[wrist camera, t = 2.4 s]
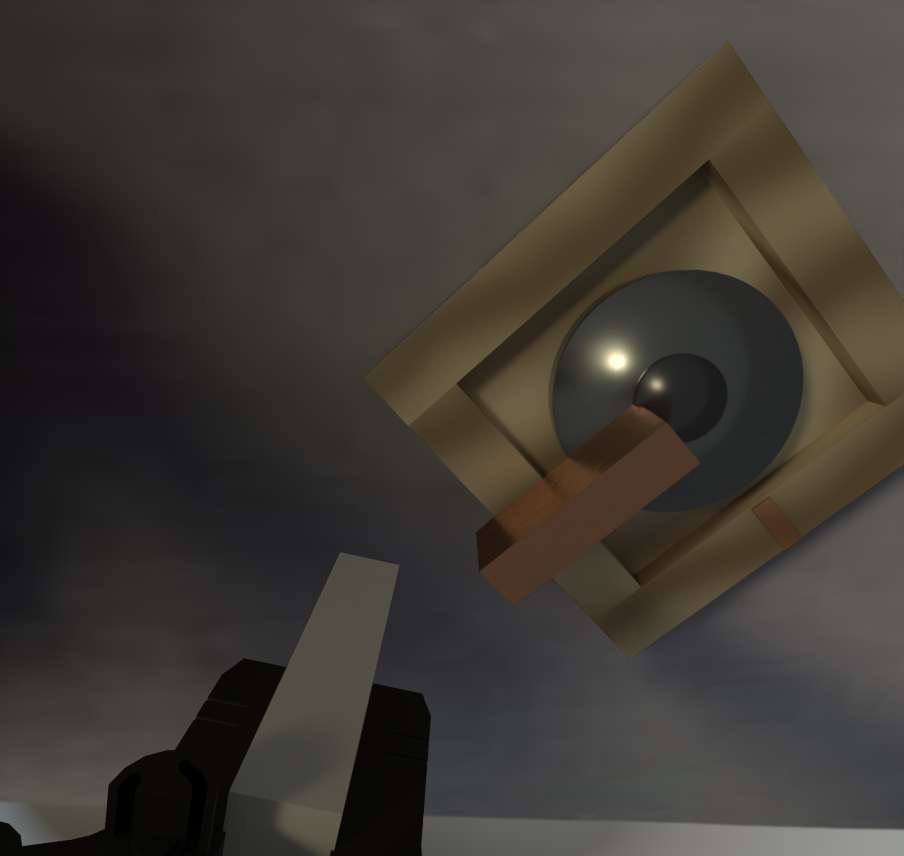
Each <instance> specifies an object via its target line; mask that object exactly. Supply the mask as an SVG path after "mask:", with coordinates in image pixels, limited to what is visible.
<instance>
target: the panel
mask: <svg viewBox="0 0 904 856" xmlns="http://www.w3.org/2000/svg"><path fill="white" fill-rule="evenodd" d="M675 270H704V271H712V272H718V273H721V274H725V275H729V276H732V277H734V278H737V279H739V280H741V281H744V282H746V283H748V284H749V285H751V286H752V287H754V288H756V289H757V290H759V291H760V292H762V293H763V294H764V295H765V296H766V297H767V298H769V299H770V300H771V301H772V302H773V303H774V304H775V305H776V307H777V308H778V309H779V310H780V311H781V312H782V314H783V315H784V317H785V318H786V320H787V321H788V323H789V325H790V326H791V328H792V330H793V333H794V335H795V337H796V340H797V342H798V346H799V349H800V353H801V357H802V365H803V393H802V399H801V405H800V409H799V412H798V416H797V419H796V422H795V424H794V426H793V429H792V431H791V433H790V436H789V437H788V439H787V441H786V442H785V444H784V446H783V448H782V449H781V451H780V452H779V453H778V455H777V456H776V457H775V459H774V460H773V461H772V462H771V464H770V465H769V466H768V467H767V468H766V469H765V470H764V471H763V472H762V473H761V474H760V475H759V476H758V477H756V478H755V479H754V480H753V481H752V482H750V483H749V484H748V485H747V486H745V487H744V488H742V489H741V490H739V491H738V492H736V493H735V494H733V495H731V496H729V497H727V498H725V499H723V500H721V501H718V502H716V503H713V504H710V505H708V506H705V507H701V508H697V509H693V510H688V511H680V512H652V511H644V510H639V511H638V512H637V513H635V514H634V515H633V516H631V517H630V518H629V519H628V520H626V521H625V522H624V523H622V524H621V525H620V526H618V527H617V528H616V529H615V530H613V531H612V532H611V533H609V534H608V535H607V536H605V537H604V538H603V539H602V540H600V541H599V542H598V543H596V544H595V545H594V546H592V547H591V548H590V549H589V550H587V551H586V552H585V553H583V554H582V555H581V556H579V557H578V558H577V559H576V560H574V561H573V562H572V563H570V564H569V565H568V566H566V567H565V568H564V569H563V570H561V571H560V572H559V573H557V574H556V575H555V576H553V577H552V578H553V579H554V580H555V581H556V582H557V583H558V584H559V585H560V586H561V587H562V588H563V589H564V590H565V591H566V593H567V594H568V595H569V596H570V597H571V598H572V599H573V600H574V601H575V602H576V603H577V604H578V605H579V606H580V607H581V608H582V609H583V610H584V612H585V613H586V614H587V615H588V616H589V617H590V618H591V619H592V620H593V621H594V622H595V623H596V624H597V625H598V626H599V627H600V628H601V629H602V630H603V632H604V633H605V634H606V635H607V636H608V637H609V638H610V639H611V640H612V641H613V642H614V643H615V644H616V645H617V646H618V647H619V648H620V649H621V650H622V652H623V653H624V654H625V655H626V656H627V657H628V658H629V659H631V658H632V657H634V656H635V655H637V654H638V653H639V652H641V651H642V650H644V649H645V648H646V647H648V646H649V645H651V644H652V643H653V642H655V641H656V640H658V639H659V638H660V637H662V636H663V635H665V634H666V633H667V632H669V631H670V630H672V629H673V628H675V627H676V626H677V625H679V624H680V623H682V622H683V621H684V620H686V619H687V618H689V617H690V616H691V615H693V614H694V613H696V612H697V611H698V610H700V609H701V608H703V607H704V606H705V605H707V604H708V603H710V602H711V601H713V600H714V599H715V598H717V597H718V596H720V595H721V594H722V593H724V592H725V591H727V590H728V589H729V588H731V587H732V586H734V585H735V584H736V583H738V582H739V581H741V580H742V579H743V578H745V577H746V576H748V575H749V574H750V573H752V572H753V571H755V570H756V569H758V568H759V567H760V566H762V565H763V564H765V563H766V562H767V561H769V560H770V559H772V558H773V557H774V556H776V555H777V554H779V553H780V552H781V551H783V550H786V549H788V548H789V547H791V546H792V545H793V544H795V543H796V542H798V541H799V540H800V539H802V537H803V536H804V535H805V534H807V533H808V532H810V531H811V530H812V529H814V528H815V527H817V526H818V525H819V524H821V523H822V522H824V521H825V520H826V519H828V518H829V517H831V516H832V515H834V514H835V513H836V512H838V511H839V510H841V509H842V508H843V507H845V506H846V505H848V504H849V503H850V502H852V501H853V500H855V499H856V498H857V497H859V496H860V495H862V494H863V493H864V492H866V491H867V490H869V489H870V488H872V487H873V486H874V485H876V484H877V483H879V482H880V481H881V480H883V479H884V478H886V477H887V476H888V475H890V474H891V473H893V472H894V471H895V470H897V469H898V468H900V467H901V466H902V465H904V300H903V299H902V297H901V296H900V294H899V293H898V291H897V290H896V288H895V287H894V285H893V284H892V282H891V281H890V280H889V278H888V277H887V275H886V274H885V272H884V271H883V269H882V268H881V266H880V265H879V263H878V262H877V260H876V259H875V257H874V256H873V254H872V253H871V251H870V250H869V249H868V247H867V246H866V244H865V243H864V241H863V240H862V238H861V237H860V235H859V234H858V232H857V231H856V229H855V228H854V226H853V225H852V223H851V222H850V220H849V219H848V217H847V216H846V215H845V213H844V212H843V210H842V209H841V207H840V206H839V204H838V203H837V201H836V200H835V198H834V197H833V195H832V194H831V192H830V191H829V189H828V188H827V186H826V185H825V183H824V182H823V181H822V179H821V178H820V176H819V175H818V173H817V172H816V170H815V169H814V167H813V166H812V164H811V163H810V161H809V160H808V158H807V157H806V155H805V154H804V152H803V151H802V149H801V148H800V147H799V145H798V144H797V142H796V141H795V139H794V138H793V136H792V135H791V133H790V132H789V130H788V129H787V127H786V126H785V124H784V123H783V121H782V120H781V118H780V117H779V115H778V114H777V113H776V111H775V110H774V108H773V107H772V105H771V104H770V102H769V101H768V99H767V98H766V96H765V95H764V93H763V92H762V90H761V89H760V87H759V86H758V84H757V83H756V81H755V80H754V79H753V77H752V76H751V74H750V73H749V71H748V70H747V68H746V67H745V65H744V64H743V62H742V61H741V59H740V58H739V56H738V55H737V53H736V52H735V50H734V49H733V47H732V46H731V45H730V43H729V42H728V41H727V42H726V43H725V44H724V45H723V46H722V47H721V48H719V49H718V50H717V51H716V52H715V53H714V54H713V55H712V56H711V57H709V58H708V59H707V60H706V61H705V62H704V63H703V64H702V65H701V66H700V67H698V68H697V69H696V70H695V71H694V72H693V73H692V74H691V75H690V76H689V77H688V78H687V79H685V80H684V81H683V82H682V83H681V84H680V85H679V86H678V87H677V88H676V89H675V90H674V91H673V92H671V93H670V94H669V95H668V96H667V97H666V98H665V99H664V100H663V101H662V102H661V103H660V104H659V105H657V106H656V107H655V108H654V109H653V110H652V111H651V112H650V113H649V114H648V115H647V116H646V117H645V118H643V119H642V120H641V121H640V122H639V123H638V124H637V125H636V126H635V127H634V128H633V129H632V130H630V131H629V132H628V133H627V134H626V135H625V136H624V137H623V138H622V139H621V140H620V141H619V142H618V143H616V144H615V145H614V146H613V147H612V148H611V149H610V150H609V151H608V152H607V153H606V154H605V155H604V156H602V157H601V158H600V159H599V160H598V161H597V162H596V163H595V164H594V165H593V166H592V167H591V168H590V169H588V170H587V171H586V172H585V173H584V174H583V175H582V176H581V177H580V178H579V179H578V180H577V181H575V182H574V183H573V184H572V185H571V186H570V187H569V188H568V189H567V190H566V191H565V192H564V193H563V194H561V195H560V196H559V197H558V198H557V199H556V200H555V201H554V202H553V203H552V204H551V205H550V206H549V207H547V208H546V209H545V210H544V211H543V212H542V213H541V214H540V215H539V216H538V217H537V218H536V219H535V220H533V221H532V222H531V223H530V224H529V225H528V226H527V227H526V228H525V229H524V230H523V231H522V232H521V233H519V234H518V235H517V236H516V237H515V238H514V239H513V240H512V241H511V242H510V243H509V244H508V245H506V246H505V247H504V248H503V249H502V250H501V251H500V252H499V253H498V254H497V255H496V256H495V257H494V258H492V259H491V260H490V261H489V262H488V263H487V264H486V265H485V266H484V267H483V268H482V269H481V270H480V271H478V272H477V273H476V274H475V275H474V276H473V277H472V278H471V279H470V280H469V281H468V282H467V283H466V284H464V285H463V286H462V287H461V288H460V289H459V290H458V291H457V292H456V293H455V294H454V295H453V296H452V297H450V298H449V299H448V300H447V301H446V302H445V303H444V304H443V305H442V306H441V307H440V308H439V309H437V310H436V311H435V312H434V313H433V314H432V315H431V316H430V317H429V318H428V319H427V320H426V321H425V322H423V323H422V324H421V325H420V326H419V327H418V328H417V329H416V330H415V331H414V332H413V333H412V334H411V335H409V336H408V337H407V338H406V339H405V340H404V341H403V342H402V343H401V344H400V345H399V346H398V347H397V348H395V349H394V350H393V351H392V352H391V353H390V354H389V355H388V356H387V357H386V358H385V359H384V360H383V361H381V362H380V363H379V364H378V365H377V366H376V367H375V368H374V369H373V370H372V371H371V372H370V373H369V374H368V375H367V376H366V377H365V378H364V380H365V381H366V382H367V383H368V384H369V385H370V386H371V387H372V388H373V389H374V390H375V391H376V392H377V393H378V395H379V396H380V397H381V398H382V399H383V400H384V401H385V402H386V403H387V404H388V405H389V406H390V407H391V408H392V409H393V410H394V411H395V412H396V413H397V415H398V416H399V417H400V418H401V419H402V420H403V421H404V422H405V423H406V424H407V425H408V426H409V427H410V428H411V429H412V430H413V431H414V432H415V434H416V435H417V436H418V437H419V438H420V439H421V440H422V441H423V442H424V443H425V444H426V445H427V446H428V447H429V448H430V449H431V450H432V451H433V452H434V454H435V455H436V456H437V457H438V458H439V459H440V460H441V461H442V462H443V463H444V464H445V465H446V466H447V467H448V468H449V469H450V470H451V471H452V472H453V474H454V475H455V476H456V477H457V478H458V479H459V480H460V481H461V482H462V483H463V484H464V485H465V486H466V487H467V488H468V489H469V490H470V491H471V492H472V494H473V495H474V496H475V497H476V498H477V499H478V500H479V501H480V502H481V503H482V504H483V505H484V506H485V507H486V508H487V509H488V510H489V511H490V512H491V514H492V515H493V516H494V517H495V516H497V515H498V514H499V513H500V512H501V511H503V510H504V509H505V508H506V507H508V506H509V505H510V504H511V503H513V502H514V501H515V500H516V499H517V498H519V497H520V496H521V495H522V494H524V493H525V492H526V491H527V490H529V489H530V488H531V487H532V486H533V485H535V484H536V483H537V482H538V481H540V480H541V479H542V478H543V477H544V476H546V475H547V474H548V473H549V472H551V471H552V470H553V469H554V468H556V467H557V466H558V465H559V464H560V463H562V462H563V461H564V460H565V459H567V458H568V457H567V456H566V454H565V452H564V451H563V449H562V447H561V445H560V444H559V442H558V439H557V437H556V434H555V432H554V429H553V426H552V422H551V417H550V412H549V402H548V395H549V381H550V375H551V370H552V366H553V363H554V360H555V356H556V354H557V352H558V349H559V347H560V345H561V343H562V341H563V339H564V337H565V336H566V334H567V332H568V331H569V329H570V327H571V326H572V325H573V324H574V322H575V321H576V320H577V319H578V317H579V316H580V315H581V314H582V313H583V312H584V311H585V310H586V309H587V308H588V307H589V306H590V305H591V304H592V303H593V302H594V301H596V300H597V299H598V298H600V297H601V296H602V295H603V294H605V293H606V292H608V291H610V290H611V289H613V288H615V287H616V286H618V285H620V284H622V283H625V282H627V281H629V280H632V279H634V278H637V277H640V276H644V275H647V274H651V273H657V272H664V271H675Z"/></svg>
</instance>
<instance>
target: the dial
mask: <svg viewBox="0 0 904 856" xmlns="http://www.w3.org/2000/svg"><path fill="white" fill-rule="evenodd" d="M802 393H803V365H802V357H801V353H800V349H799V346H798V342H797V340H796V337H795V335H794V333H793V330H792V328H791V326H790V325H789V323H788V321H787V320H786V318H785V317H784V315H783V314H782V312H781V311H780V310H779V309H778V308H777V307H776V305H775V304H774V303H773V302H772V301H771V300H770V299H769V298H767V297H766V296H765V295H764V294H763V293H762V292H760V291H759V290H757V289H756V288H754V287H752V286H751V285H749V284H748V283H746V282H744V281H741V280H739V279H737V278H734V277H732V276H729V275H725V274H721V273H718V272H712V271H704V270H675V271H664V272H657V273H651V274H647V275H644V276H640V277H637V278H634V279H632V280H629V281H627V282H625V283H622V284H620V285H618V286H616V287H615V288H613V289H611V290H610V291H608V292H606V293H605V294H603V295H602V296H601V297H600V298H598V299H597V300H596V301H594V302H593V303H592V304H591V305H590V306H589V307H588V308H587V309H586V310H585V311H584V312H583V313H582V314H581V315H580V316H579V317H578V319H577V320H576V321H575V322H574V324H573V325H572V326H571V327H570V329H569V331H568V332H567V334H566V336H565V337H564V339H563V341H562V343H561V345H560V347H559V349H558V352H557V354H556V356H555V360H554V363H553V366H552V370H551V375H550V381H549V395H548V402H549V412H550V417H551V422H552V426H553V429H554V432H555V434H556V437H557V439H558V442H559V444H560V445H561V447H562V449H563V451H564V452H565V454H566V456H567V457H568V458H567V459H565V460H564V461H563V462H562V463H560V464H559V465H558V466H557V467H556V468H554V469H553V470H552V471H551V472H549V473H548V474H547V475H546V476H544V477H543V478H542V479H541V480H540V481H538V482H537V483H536V484H535V485H533V486H532V487H531V488H530V489H529V490H527V491H526V492H525V493H524V494H522V495H521V496H520V497H519V498H517V499H516V500H515V501H514V502H513V503H511V504H510V505H509V506H508V507H506V508H505V509H504V510H503V511H501V512H500V513H499V514H498V515H497V516H495V517H494V518H493V519H492V520H490V521H489V522H488V523H487V524H486V525H484V526H483V527H482V528H481V529H479V530H478V531H477V532H476V535H477V549H478V562H479V572H480V573H481V574H482V575H483V576H484V577H485V578H486V579H487V580H488V581H489V582H490V583H491V584H492V585H493V586H494V587H495V588H496V589H497V590H498V591H499V592H500V593H501V594H502V595H503V596H504V597H505V598H506V599H507V600H508V601H509V602H510V603H511V604H512V605H513V606H516V605H517V604H518V603H520V602H521V601H522V600H523V599H525V598H526V597H527V596H529V595H530V594H531V593H533V592H534V591H535V590H536V589H538V588H539V587H540V586H542V585H543V584H544V583H546V582H547V581H548V580H549V579H551V578H552V577H553V576H555V575H556V574H557V573H559V572H560V571H561V570H563V569H564V568H565V567H566V566H568V565H569V564H570V563H572V562H573V561H574V560H576V559H577V558H578V557H579V556H581V555H582V554H583V553H585V552H586V551H587V550H589V549H590V548H591V547H592V546H594V545H595V544H596V543H598V542H599V541H600V540H602V539H603V538H604V537H605V536H607V535H608V534H609V533H611V532H612V531H613V530H615V529H616V528H617V527H618V526H620V525H621V524H622V523H624V522H625V521H626V520H628V519H629V518H630V517H631V516H633V515H634V514H635V513H637V512H638V511H639V510H644V511H652V512H680V511H688V510H693V509H697V508H701V507H705V506H708V505H710V504H713V503H716V502H718V501H721V500H723V499H725V498H727V497H729V496H731V495H733V494H735V493H736V492H738V491H739V490H741V489H742V488H744V487H745V486H747V485H748V484H749V483H750V482H752V481H753V480H754V479H755V478H756V477H758V476H759V475H760V474H761V473H762V472H763V471H764V470H765V469H766V468H767V467H768V466H769V465H770V464H771V462H772V461H773V460H774V459H775V457H776V456H777V455H778V453H779V452H780V451H781V449H782V448H783V446H784V444H785V442H786V441H787V439H788V437H789V436H790V433H791V431H792V429H793V426H794V424H795V422H796V419H797V416H798V412H799V409H800V405H801V399H802Z"/></svg>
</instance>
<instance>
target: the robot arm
mask: <svg viewBox="0 0 904 856" xmlns="http://www.w3.org/2000/svg"><path fill="white" fill-rule="evenodd" d="M398 570H399V565H397V564H392V563H388V562H383V561H379V560H374V559H369V558H365V557H360V556H356V555H351V554H346V553H342V552H340V554H339V556H338V558H337V560H336V563H335V565H334V567H333V569H332V571H331V573H330V576H329V578H328V580H327V582H326V584H325V586H324V588H323V591H322V593H321V595H320V597H319V599H318V601H317V603H316V606H315V608H314V610H313V612H312V614H311V616H310V619H309V621H308V623H307V625H306V627H305V629H304V631H303V634H302V636H301V638H300V640H299V642H298V644H297V646H296V649H295V651H294V653H293V655H292V657H291V659H290V662H289V664H288V666H287V667H283V666H278V665H274V664H269V663H264V662H259V661H254V660H250V659H245V658H244V659H243V660H241V661H240V662H239V663H237V664H236V665H234V666H233V667H232V668H230V669H229V670H228V671H226V672H225V673H224V674H222V675H221V677H220V679H219V680H218V682H217V683H216V685H215V687H214V688H213V690H212V691H211V693H210V695H209V696H208V699H207V701H205V703H204V704H203V706H202V708H201V709H200V711H199V712H198V714H197V716H196V719H195V720H193V722H192V724H191V725H190V727H189V728H188V730H187V732H186V733H185V735H184V736H183V738H182V740H181V741H180V743H179V744H178V746H177V748H176V749H175V750H166V751H163V752H159V753H155V754H151V755H147V756H145V757H143V758H141V759H139V760H138V761H136V762H134V763H132V764H131V765H129V766H127V767H126V768H124V769H123V770H122V771H121V772H120V773H119V774H118V776H117V777H116V778H115V779H114V780H113V781H112V782H111V783H110V784H109V787H108V799H107V812H106V823H105V829H104V830H102V831H99V832H97V833H95V834H92V835H90V836H85V837H81V838H77V839H72V840H65V841H58V842H50V843H43V844H36V845H27V846H22V842H21V835H20V834H19V833H18V832H17V831H16V830H15V829H14V828H13V827H12V826H11V825H10V824H8V823H4V822H0V856H422V851H421V841H422V827H423V814H424V801H425V787H426V774H427V760H428V747H429V745H428V743H429V734H430V721H431V715H430V713H429V710H428V707H427V705H426V702H425V700H424V697H423V695H422V694H421V693H417V692H412V691H407V690H402V689H397V688H393V687H388V686H383V685H378V684H373V679H374V675H375V670H376V666H377V662H378V657H379V653H380V649H381V644H382V640H383V635H384V631H385V627H386V622H387V618H388V613H389V609H390V605H391V600H392V596H393V592H394V587H395V583H396V578H397V574H398Z"/></svg>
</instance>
